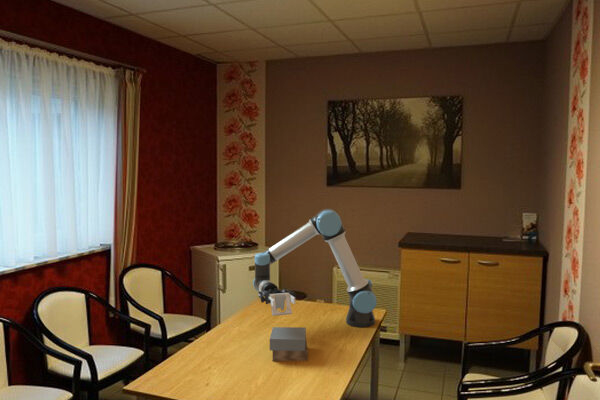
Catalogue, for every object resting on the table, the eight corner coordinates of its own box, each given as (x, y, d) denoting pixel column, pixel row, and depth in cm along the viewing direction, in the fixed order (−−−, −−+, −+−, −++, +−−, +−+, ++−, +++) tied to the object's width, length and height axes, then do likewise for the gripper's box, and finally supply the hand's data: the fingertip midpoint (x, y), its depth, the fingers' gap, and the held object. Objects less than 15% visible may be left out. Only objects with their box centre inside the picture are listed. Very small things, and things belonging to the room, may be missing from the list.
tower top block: (305, 338, 223) (305, 327, 222) (304, 350, 208) (304, 339, 207) (273, 337, 223) (272, 327, 223) (269, 350, 208) (269, 339, 208)
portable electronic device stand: (272, 316, 213) (272, 297, 212) (269, 311, 220) (269, 292, 220) (292, 314, 215) (291, 296, 214) (288, 309, 222) (287, 291, 222)
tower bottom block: (306, 348, 224) (305, 337, 224) (307, 361, 209) (307, 350, 209) (273, 348, 223) (273, 338, 223) (272, 362, 208) (272, 350, 208)
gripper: (289, 294, 238) (307, 307, 217) (246, 299, 230) (260, 313, 209) (289, 279, 237) (307, 291, 216) (246, 284, 230) (260, 296, 209)
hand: (284, 302), depth 213 cm, fingers closed on portable electronic device stand, 9 cm apart
